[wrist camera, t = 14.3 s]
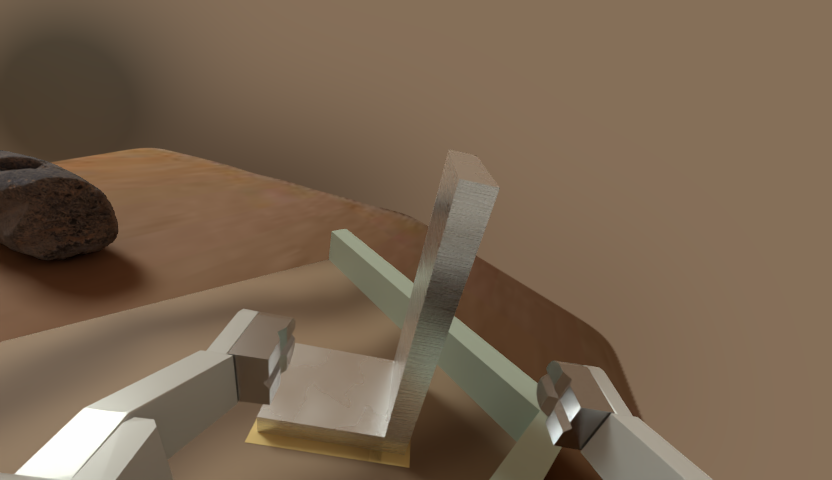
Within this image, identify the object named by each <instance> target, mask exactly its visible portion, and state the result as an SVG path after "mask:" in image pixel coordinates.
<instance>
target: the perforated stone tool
mask: <svg viewBox="0 0 832 480" xmlns="http://www.w3.org/2000/svg"><path fill="white" fill-rule="evenodd" d="M117 234H118V222H117V219H116V216H115V212H114V210H113V207H112V206H111V203H110V202H109V201H108V200H107V197H106V195H105V194H104V193H103V192H102V191H101V190H99V189H98V188H96V187H95V186H93V185H92V184H90V183H89V182H87V181H86V180H84V179H83V178H81V177H79V176H77V175H76V174H73V173H72V172H69V171H68V170H65V169H63V168H61V167H59V166H57V165H55V164H52V163H50V162H47V161H44V160H40V159H37V158H34V157H30V156H25V155H21V154H17V153H12V152H7V151H1V150H0V243H1V244H3V245H5V246H7V247H8V248H10V249H11V250H13V251H16V252H20V253H23V254H28V255H32V256H34V257H36V258H38V259H42V260H48V261H50V260H52V259H66V258H67V257H72V256H75V255H77V254H79V253H83V254H87V253H90V252H96V251H100V250H101V249H103V248H104V247H106V246H108V245H109V244H110V243H113V241H114V240H115V239H116V237H117Z"/></svg>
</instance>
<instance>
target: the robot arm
mask: <svg viewBox="0 0 832 480" xmlns="http://www.w3.org/2000/svg"><path fill="white" fill-rule="evenodd" d="M294 329H295V319H294V318H292V317H286V316H281V315H276V314H271V313H265V312H258V311H253V310H248V309H242V310H240V311H239V312H237V314H236V315H235V316H234V317H233V319H232V320H231V321H230V322H229V323H228V325H227V326H226V327H225V328H224V330H223V331H222V332H221V333H220V334H219V336H218V337H217V338H216V339H215V340H214V342H213V343H212V344H211V345H210V347H209V348H208V349H207V350H206V351H202V350H200V351H198V352H196V353H194V354H192V355H190V356H188V357H186V358H184V359H182V360H180V361H178V362H175V363H173V364H171V365H169V366H167V367H165V368H163V369H161V370H159V371H157V372H155V373H153V374H151V375H149V376H147V377H145V378H143V379H141V380H139V381H137V382H135V383H133V384H131V385H129V386H127V387H125V388H123V389H121V390H119V391H117V392H115V393H113V394H111V395H109V396H107V397H105V398H103V399H101V400H99V401H97V402H95V403H93V404H91V405H89V406H87V407H85V408H83V409H82V410H81V411H80V412H79V413H78V414H77V415H76V416H75V417H74V418H73V419H72V420H71V421H70V422H69V423H67V424H66V425H65V426H64V427H63V428H62V429H61V430H60V431H59V432H58V433H57V434H56V435H55V436H54V437H53V438H52V439H51V440H50V441H48V442H47V443H46V444H45V445H44V446H43V447H42V448H41V449H40V450H39V451H38V452H37V453H36V454H35V455H34V456H33V457H32V458H31V459H29V460H28V461H27V462H26V463H25V464H24V465H23V466H22V467H21V468H20V469H19V470H18V471H17V472H16V473H15V474H8V473H0V480H174V479H173V475H172V472H171V469H170V466H169V463H168V459H169V458H170V457H172V456H173V455H174V454H175V453H177V452H178V451H179V450H180V449H182V448H183V447H184V446H185V445H187V444H188V443H189V442H190V441H192V440H193V439H194V438H195V437H197V436H198V435H199V434H200V433H202V432H203V431H204V430H205V429H207V428H208V427H209V426H210V425H212V424H213V423H214V422H215V421H217V420H218V419H219V418H220V417H222V416H223V415H224V414H225V413H227V412H228V411H229V410H230V409H232V408H233V407H234V406H235V405H237V404H238V401H239V402H248V403H256V404H265V405H270V404H271V402H272V400H273V397H274V395H275V393H276V391H277V389H278V387H279V385H280V374H282V373H283V372H285V371H286V370H287V368H288V366H289V364H290V362H291V358H292V355H293V352H294V347H295V338H294V336H293V335H292V333H293V331H294ZM546 369H547V372H548V374H547V375H545V376H543V377H541V378H540V380H539V382H538V384H537V392H536V395H537V401H538V404H539V407H540V409H541V410H542V411H543V412H544V413H545V414H546V416H547V419H546V422H545V423H546V426H547V429H548V431H549V434H550V437H551V440H552V442H553V445H554V446H560V447H565V448H571V449H577V450H581V453H582V454H583V455H584V457H585V458H586V459H587V460H588V462H589V463H590V464H591V465H592V467H593V468H594V469H595V470H596V472H597V473H598V474H599V475H600V476H601V478H602V479H603V480H713V479H711V478H710V477H709V476H708V475H707V474H705V473H704V472H703V471H702V470H700V469H699V468H698V467H697V466H696V465H694V464H693V463H692V462H691V461H690V460H688V459H687V458H686V457H685V456H683V454H681V453H680V452H679V451H678V450H677V449H675V448H674V447H673V446H672V445H670V444H669V443H668V442H667V441H666V440H664V439H663V438H662V437H661V436H660V435H658V434H657V433H656V432H655V431H654V430H652V429H651V428H650V427H649V426H648V425H646V424H645V423H644V422H643V421H642V420H640V419H639V418H638V417H633V416H632V414H631V413H630V411H629V410H628V408H627V406H626V405H625V403H624V402H623V400H622V399H621V397H620V396H619V394H618V392H617V391H616V389H615V388H614V386H613V385H612V383H611V382H610V380H609V378H608V377H607V375H606V374H605V372H604V371H603V370H602V369H600V368H599V367H593V366H586V365H579V364H573V363H567V362H560V361H552V362H550V363H549V365H548V366H547V368H546Z"/></svg>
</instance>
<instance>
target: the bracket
mask: <svg viewBox="0 0 832 480" xmlns="http://www.w3.org/2000/svg"><path fill="white" fill-rule="evenodd" d="M499 189H500V188H499V186H498V185H497V183H496V182H495V181H494V179H493V178H492V176H491V175H490V174H489V172H488V171H487V169H486V168H485V167H484V166H483V164H482V163H481V161H480V160H479V158H478V157H477V156H476V155H471V154H467V153H463V152H458V151H454V150H449V151H448V155H447V159H446V162H445V166H444V170H443V174H442V178H441V182H440V186H439V189H438V193H437V197H436V201H435V205H434V208H433V212H432V217H431V220H430V224H429V228H428V231H427V235H426V239H425V243H424V247H423V251H422V255H421V258H420V262H419V266H418V270H417V274H416V278H415V281H414V285H413V289H412V293H411V297H410V301H409V304H408V308H407V312H406V316H405V320H404V324H403V327H402V331H401V335H400V339H399V343H398V347H397V351H396V354H395V358H394V360H388V359H383V358H377V357H372V356H366V355H360V354H355V353H349V352H344V351H338V350H332V349H327V348H321V347H316V346H310V345H305V344H299V343H295V347H294V352H293V355H292V358H291V362H290V364H289V366H288V368H287V370H286V371H285V372H283V373H282V374H280V385H279V387H278V389H277V391H276V393H275V395H274V397H273V400H272V402H271V404H270V405H265V404H263V405H262V407H261V409H260V411H259V413H258V415H257V432H262V433H268V434H274V435H281V436H287V437H293V438H300V439H306V440H313V441H319V442H325V443H332V444H338V445H344V446H351V447H357V448H363V449H370V450H376V451H382V452H389V453H395V454H401V455H405V452H406V449H407V447H408V444H409V441H410V438H411V435H412V433H413V430H414V427H415V424H416V421H417V419H418V416H419V413H420V410H421V407H422V405H423V402H424V399H425V396H426V393H427V390H428V388H429V385H430V382H431V379H432V376H433V374H434V371H435V368H436V365H437V362H438V360H439V357H440V354H441V351H442V348H443V346H444V343H445V340H446V337H447V334H448V332H449V329H450V326H451V323H452V320H453V318H454V315H455V312H456V309H457V306H458V304H459V301H460V298H461V295H462V292H463V290H464V287H465V284H466V281H467V278H468V276H469V273H470V270H471V267H472V264H473V261H474V259H475V256H476V253H477V250H478V247H479V245H480V242H481V239H482V236H483V233H484V231H485V228H486V225H487V222H488V219H489V216H490V214H491V211H492V208H493V205H494V202H495V200H496V197H497V194H498V191H499Z"/></svg>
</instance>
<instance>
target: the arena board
mask: <svg viewBox="0 0 832 480" xmlns="http://www.w3.org/2000/svg"><path fill="white" fill-rule="evenodd" d="M242 309H248V310H253V311H258V312H265V313H271V314H276V315H281V316H286V317H292V318H294V319H295V329H294V331H293V333H292V335H293V336H294V338H295V343H299V344H305V345H310V346H316V347H321V348H327V349H332V350H338V351H344V352H349V353H355V354H360V355H366V356H372V357H377V358H383V359H388V360H394V358H395V354H396V351H397V347H398V343H399V339H400V335H401V331H402V330H401V329H400V328H399V327H398V326H397V325H396V324H395V323H394V322H393V321H392V320H391V319H390V318H389V317H388V316H387V315H386V314H385V313H384V312H382V311H381V310H380V309H379V308H378V307H377V306H376V305H375V304H374V303H373V302H372V301H371V300H370V299H369V298H368V297H367V296H366V295H365V294H364V293H363V292H362V291H361V290H360V289H359V288H358V287H357V286H356V285H355V284H354V283H353V282H352V281H351V280H350V279H349V278H348V277H347V276H346V275H344V274H343V273H342V272H341V271H340V270H339V269H338V268H337V267H336V266H335V265H334V264H333V263H332V262H331V261H330V260H329V259H328V260H324V261H320V262H316V263H312V264H308V265H304V266H301V267H297V268H293V269H289V270H285V271H281V272H277V273H273V274H269V275H265V276H261V277H257V278H253V279H249V280H245V281H241V282H237V283H233V284H229V285H225V286H221V287H217V288H213V289H209V290H205V291H201V292H197V293H193V294H189V295H185V296H181V297H177V298H174V299H170V300H166V301H162V302H158V303H154V304H150V305H146V306H142V307H138V308H134V309H130V310H126V311H122V312H118V313H114V314H110V315H106V316H102V317H98V318H94V319H90V320H86V321H82V322H78V323H74V324H70V325H66V326H62V327H58V328H54V329H50V330H47V331H43V332H39V333H35V334H31V335H27V336H23V337H19V338H15V339H11V340H7V341H3V342H0V473H8V474H15V473H16V472H17V471H18V470H19V469H20V468H21V467H22V466H23V465H24V464H25V463H26V462H27V461H28V460H29V459H31V458H32V457H33V456H34V455H35V454H36V453H37V452H38V451H39V450H40V449H41V448H42V447H43V446H44V445H45V444H46V443H47V442H48V441H50V440H51V439H52V438H53V437H54V436H55V435H56V434H57V433H58V432H59V431H60V430H61V429H62V428H63V427H64V426H65V425H66V424H67V423H69V422H70V421H71V420H72V419H73V418H74V417H75V416H76V415H77V414H78V413H79V412H80V411H81V410H82V409H83V408H85V407H87V406H89V405H91V404H93V403H95V402H97V401H99V400H101V399H103V398H105V397H107V396H109V395H111V394H113V393H115V392H117V391H119V390H121V389H123V388H125V387H127V386H129V385H131V384H133V383H135V382H137V381H139V380H141V379H143V378H145V377H147V376H149V375H151V374H153V373H155V372H157V371H159V370H161V369H163V368H165V367H167V366H169V365H171V364H173V363H175V362H178V361H180V360H182V359H184V358H186V357H188V356H190V355H192V354H194V353H196V352H198V351H200V350H202V351H206V350H207V349H208V348H209V347H210V345H211V344H212V343H213V342H214V340H215V339H216V338H217V337H218V336H219V334H220V333H221V332H222V331H223V330H224V328H225V327H226V326H227V325H228V323H229V322H230V321H231V320H232V319H233V317H234V316H235V315H236V314H237V312H239V311H240V310H242ZM262 405H263V404H256V403H248V402H239V401H238V404H237V405H235V406H234V407H233V408H232V409H230V410H229V411H228V412H227V413H225V414H224V415H223V416H222V417H220V418H219V419H218V420H217V421H215V422H214V423H213V424H212V425H210V426H209V427H208V428H207V429H205V430H204V431H203V432H202V433H200V434H199V435H198V436H197V437H195V438H194V439H193V440H192V441H190V442H189V443H188V444H187V445H185V446H184V447H183V448H182V449H180V450H179V451H178V452H177V453H175V454H174V455H173V456H172V457H170V458H169V459H168V463H169V466H170V469H171V472H172V475H173V479H174V480H489V479H490V478H491V477H492V475H493V474H494V473H495V471H496V470H497V469H498V467H499V466H500V464H501V463H502V462H503V460H504V459H505V458H506V456H507V455H508V454H509V452H510V451H511V450H512V448H513V447H514V445H515V444H516V443H517V442H516V441H515V440H514V439H513V438H512V437H511V436H510V435H509V434H508V433H507V432H506V431H505V430H504V429H503V428H502V427H501V426H500V425H499V424H498V423H497V422H495V421H494V420H493V419H492V418H491V417H490V416H489V415H488V414H487V413H486V412H485V411H484V410H483V409H482V408H481V407H480V406H479V405H478V404H477V403H476V402H475V401H474V400H473V399H472V398H471V397H470V396H469V395H468V394H467V393H466V392H465V391H464V390H463V389H462V388H461V387H460V386H459V385H457V384H456V383H455V382H454V381H453V380H452V379H451V378H450V377H449V376H448V375H447V374H446V373H445V372H444V371H443V370H442V369H441V368H440V367H439V366H438V365H436V368H435V371H434V374H433V376H432V379H431V382H430V385H429V388H428V390H427V393H426V396H425V399H424V402H423V405H422V407H421V410H420V413H419V416H418V419H417V421H416V424H415V427H414V430H413V433H412V435H411V438H410V441H409V444H408V447H407V449H406V452H405V455H401V454H395V453H389V452H382V451H376V450H370V449H363V448H357V447H351V446H344V445H338V444H332V443H325V442H319V441H313V440H306V439H300V438H293V437H287V436H281V435H274V434H268V433H262V432H257V415H258V413H259V411H260V409H261V407H262Z"/></svg>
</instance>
